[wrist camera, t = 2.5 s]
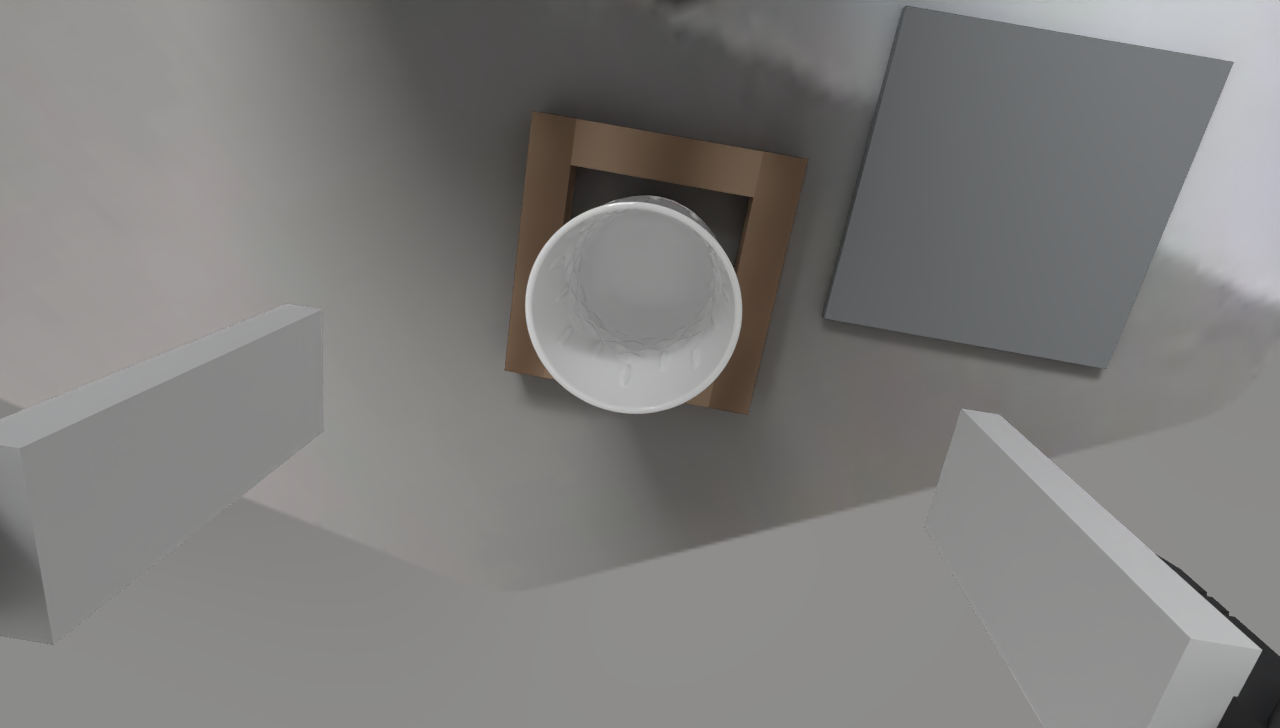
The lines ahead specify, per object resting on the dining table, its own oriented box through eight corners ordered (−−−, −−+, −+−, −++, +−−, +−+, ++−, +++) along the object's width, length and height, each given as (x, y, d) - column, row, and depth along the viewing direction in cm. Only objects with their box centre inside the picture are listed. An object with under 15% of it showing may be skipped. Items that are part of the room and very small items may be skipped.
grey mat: (822, 315, 34) (824, 318, 34) (902, 8, 30) (906, 5, 29) (1099, 365, 34) (1106, 369, 33) (1223, 63, 29) (1233, 61, 29)
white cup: (603, 157, 33) (567, 166, 23) (754, 220, 33) (779, 254, 24) (549, 305, 35) (497, 367, 26) (690, 362, 36) (690, 444, 26)
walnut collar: (514, 358, 36) (504, 370, 34) (541, 112, 32) (532, 110, 30) (745, 400, 36) (747, 414, 34) (801, 158, 32) (808, 159, 30)
